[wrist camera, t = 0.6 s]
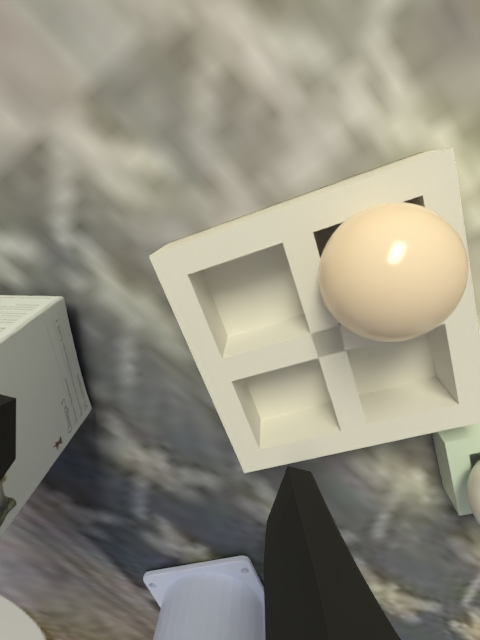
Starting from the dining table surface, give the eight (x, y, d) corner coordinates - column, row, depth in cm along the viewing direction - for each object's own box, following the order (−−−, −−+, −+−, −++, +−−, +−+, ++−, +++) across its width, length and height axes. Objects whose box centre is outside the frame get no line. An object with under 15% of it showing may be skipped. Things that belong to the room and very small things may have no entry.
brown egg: (441, 294, 15) (510, 343, 11) (328, 326, 16) (349, 383, 12) (420, 179, 14) (491, 181, 9) (297, 222, 15) (309, 242, 10)
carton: (459, 384, 19) (491, 419, 16) (247, 434, 21) (244, 473, 18) (420, 152, 15) (453, 147, 12) (168, 243, 17) (148, 256, 15)
